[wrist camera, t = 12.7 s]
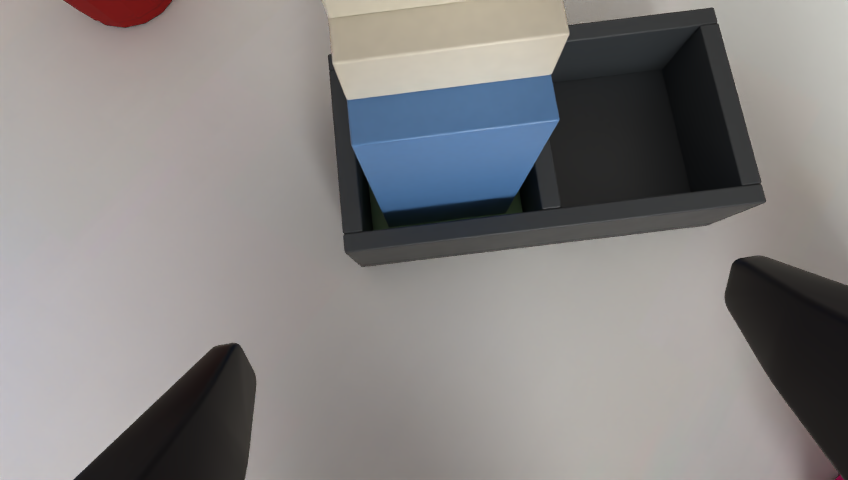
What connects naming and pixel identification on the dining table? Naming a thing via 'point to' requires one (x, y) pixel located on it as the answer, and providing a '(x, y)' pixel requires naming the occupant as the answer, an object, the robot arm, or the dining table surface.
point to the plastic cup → (121, 10)
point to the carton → (447, 99)
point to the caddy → (595, 149)
